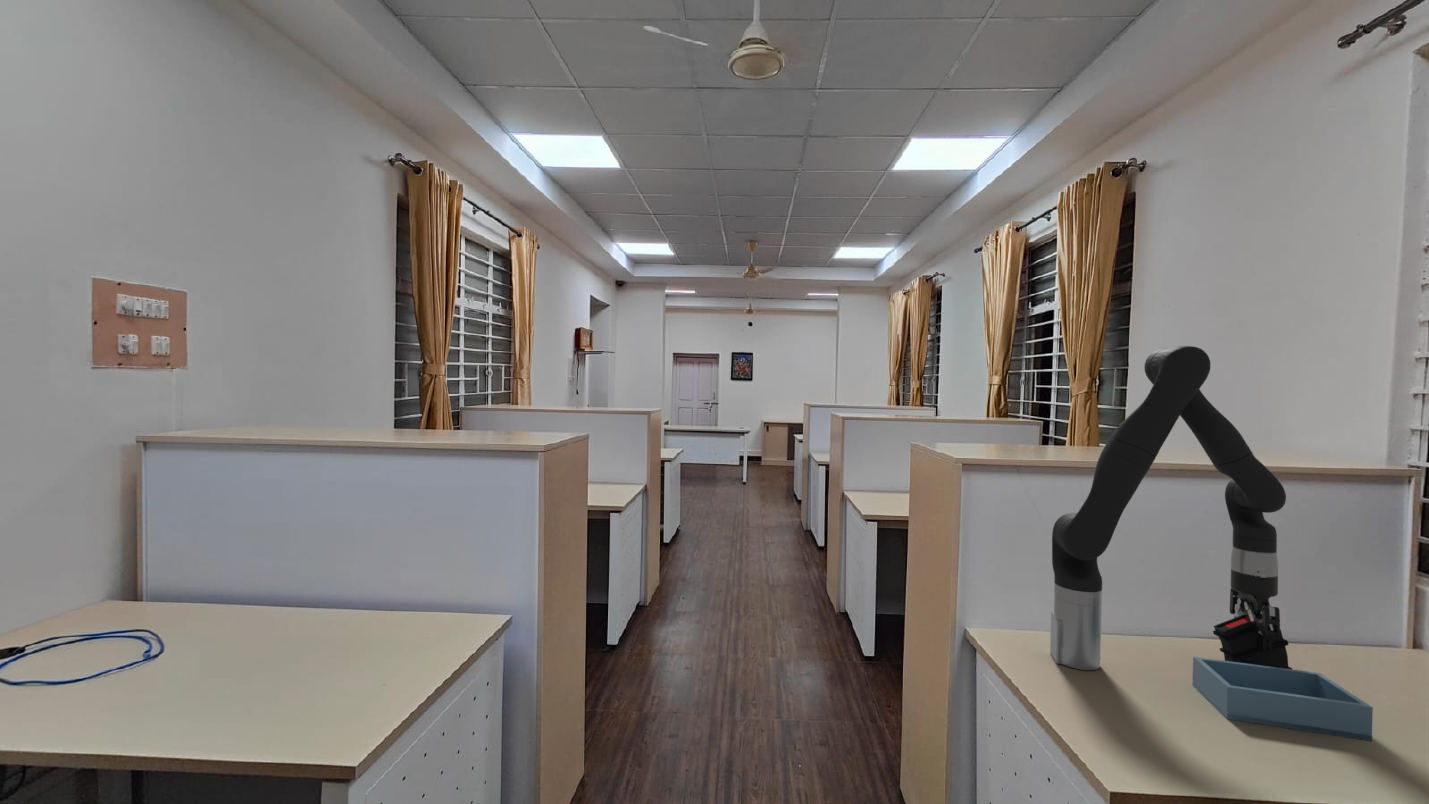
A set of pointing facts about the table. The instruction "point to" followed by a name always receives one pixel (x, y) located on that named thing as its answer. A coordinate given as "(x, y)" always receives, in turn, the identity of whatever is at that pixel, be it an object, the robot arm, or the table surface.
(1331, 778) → the table surface
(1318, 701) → the bin
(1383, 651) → the table surface
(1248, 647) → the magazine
